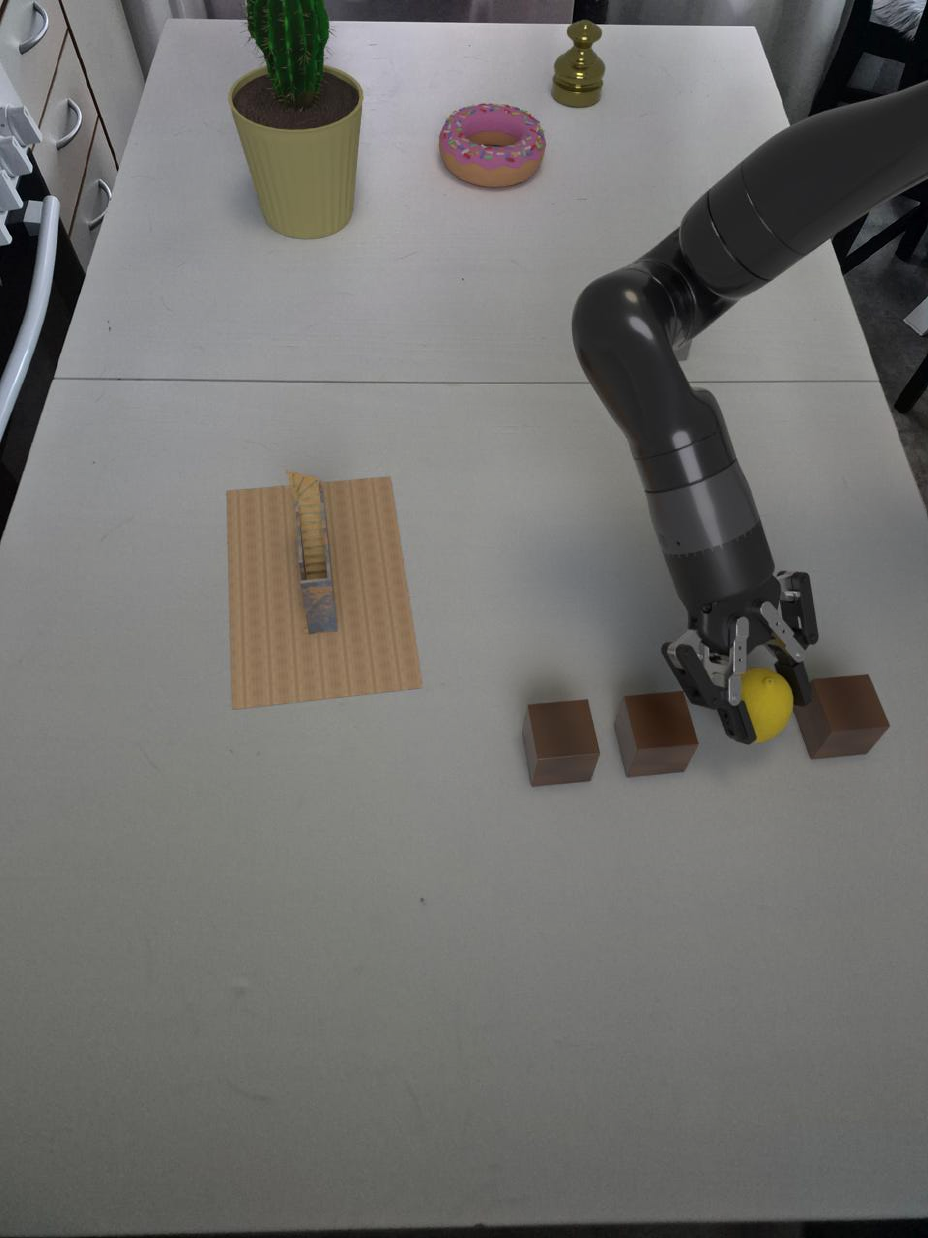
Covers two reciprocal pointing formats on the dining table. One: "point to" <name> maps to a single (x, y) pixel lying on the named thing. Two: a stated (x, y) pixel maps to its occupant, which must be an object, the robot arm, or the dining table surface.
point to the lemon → (766, 701)
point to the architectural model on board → (317, 593)
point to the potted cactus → (298, 120)
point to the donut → (492, 127)
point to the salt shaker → (579, 68)
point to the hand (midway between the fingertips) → (772, 721)
